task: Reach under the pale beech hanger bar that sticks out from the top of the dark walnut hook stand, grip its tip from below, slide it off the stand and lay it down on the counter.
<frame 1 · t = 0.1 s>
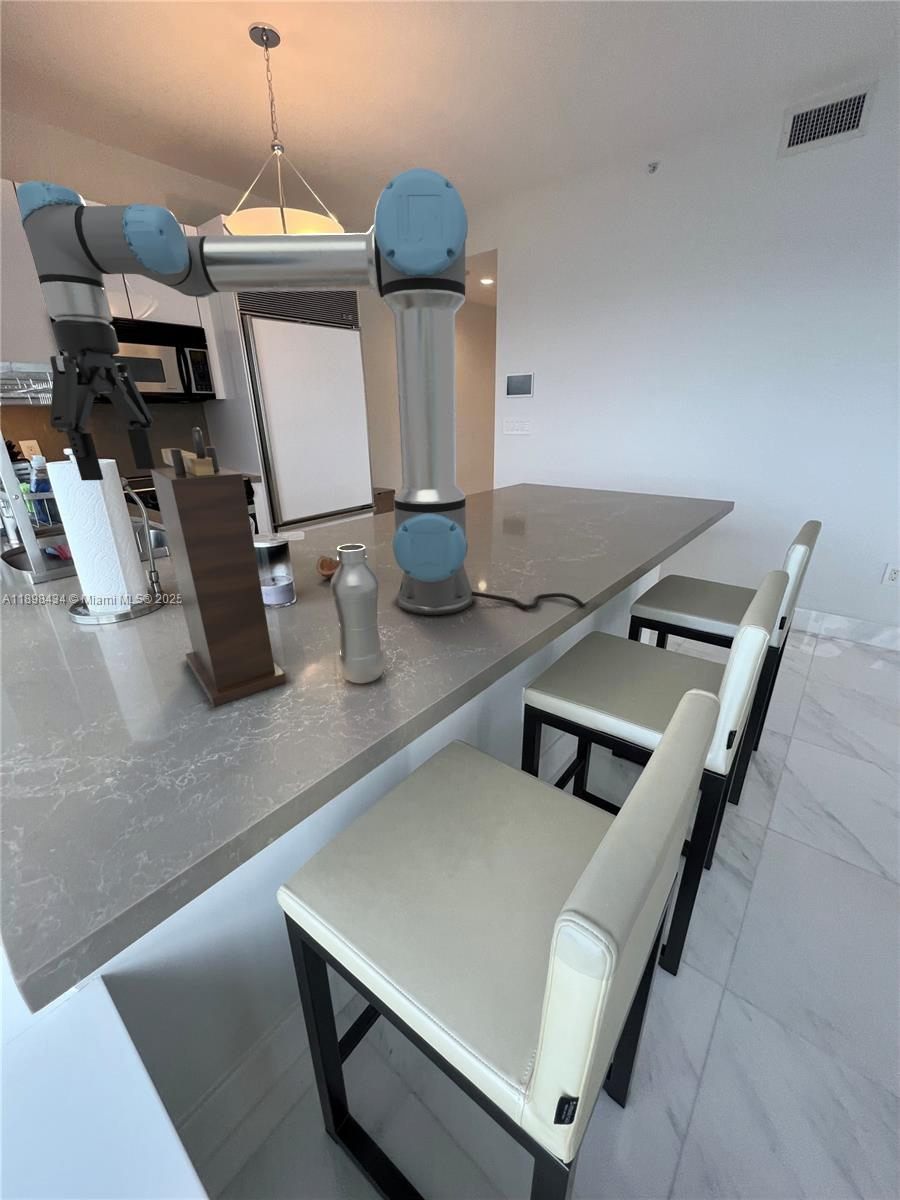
hand: (121, 474, 78), 28 cm above the table, tool pointing down, fingers open, 13 cm apart
fruit slice: (334, 579, 115), on the table
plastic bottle: (363, 678, 73), on the table
hook stand: (234, 672, 75), on the table
hanger bar: (186, 468, 67), point 30 cm above the table, touching hook stand
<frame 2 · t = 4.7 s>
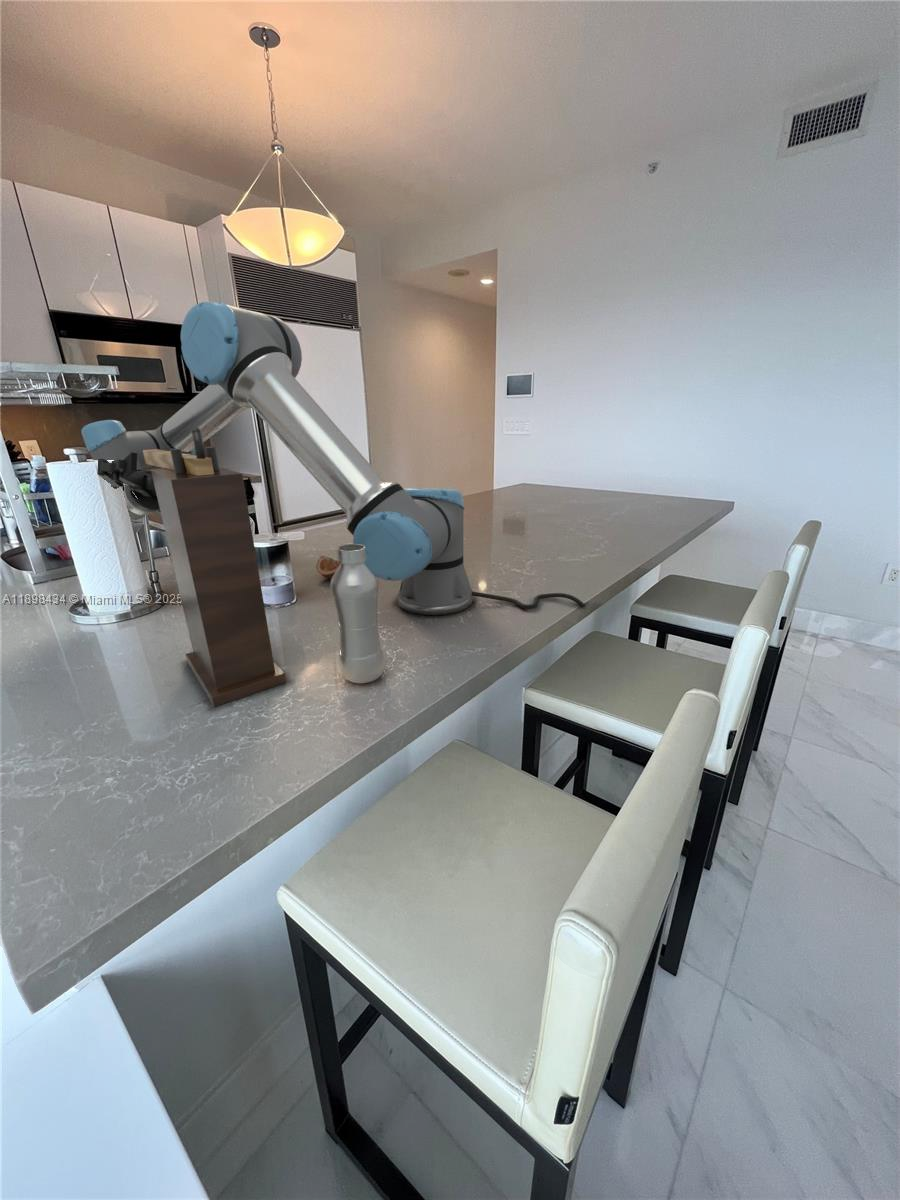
hand: (182, 471, 80), 28 cm above the table, tool pointing upward, fingers open, 13 cm apart
hanger bar: (176, 468, 66), point 30 cm above the table, touching hook stand
everything else where it was.
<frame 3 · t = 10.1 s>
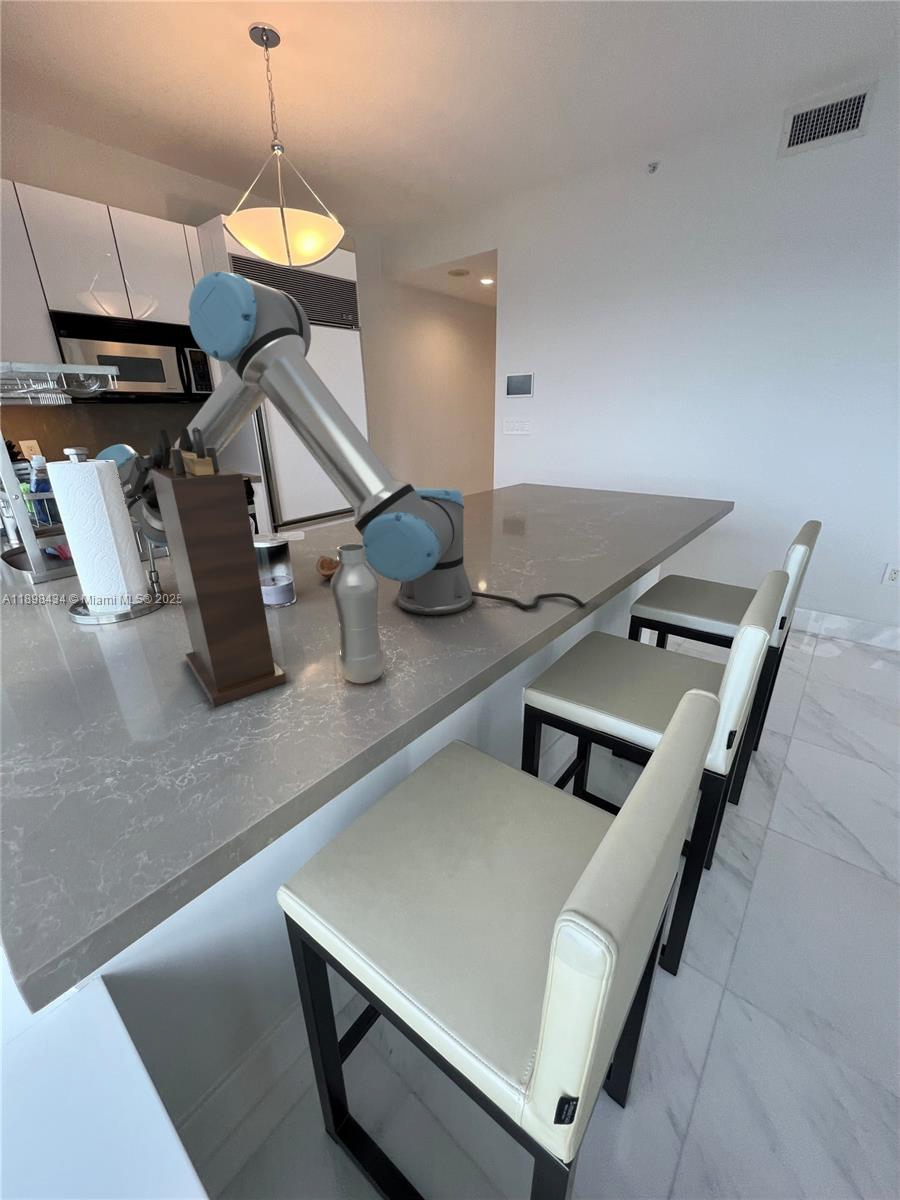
hand: (176, 438, 68), 34 cm above the table, tool pointing upward, fingers closed on hanger bar, 2 cm apart
hanger bar: (186, 468, 67), point 30 cm above the table, touching gripper
everything else where it was.
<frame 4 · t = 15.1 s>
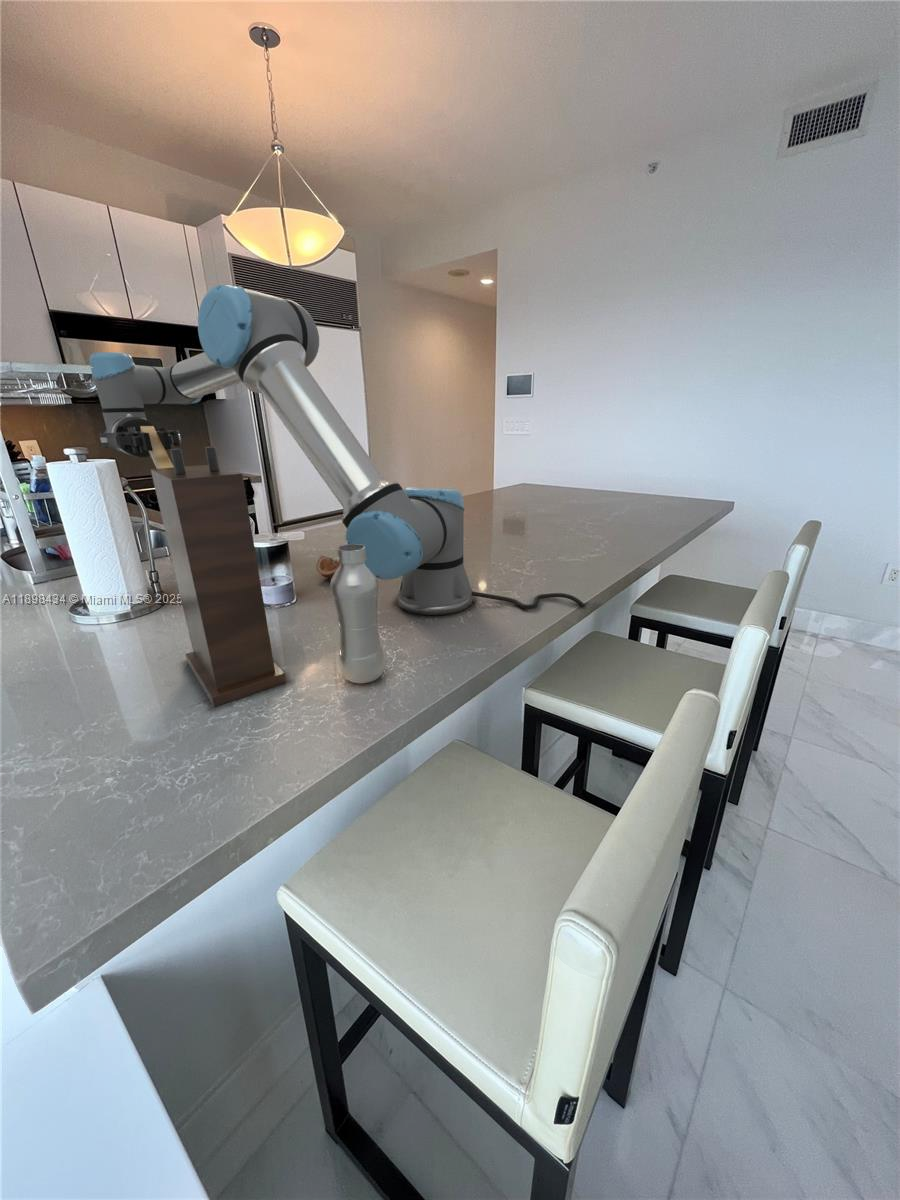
hand: (157, 441, 79), 33 cm above the table, tool horizontal, fingers closed on hanger bar, 2 cm apart
hanger bar: (165, 471, 80), point 28 cm above the table, tilted 29°, touching gripper
everything else where it was.
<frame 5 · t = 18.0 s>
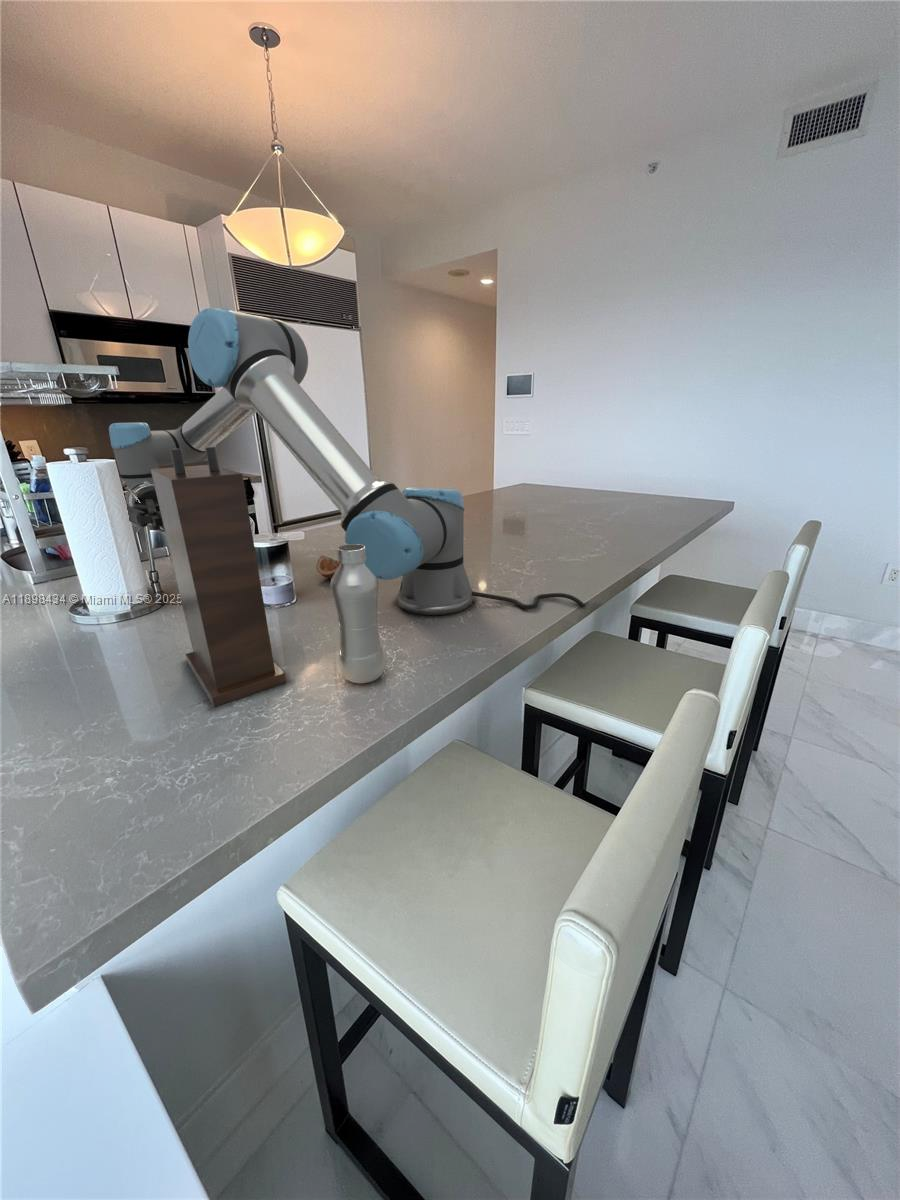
hand: (176, 523, 84), 19 cm above the table, tool horizontal, fingers closed on hanger bar, 2 cm apart
hanger bar: (182, 550, 85), point 15 cm above the table, tilted 30°, touching gripper
everything else where it was.
when the fingers open (10 cm above the table, at t = 20.3 s): hanger bar drops 5 cm, on the table.
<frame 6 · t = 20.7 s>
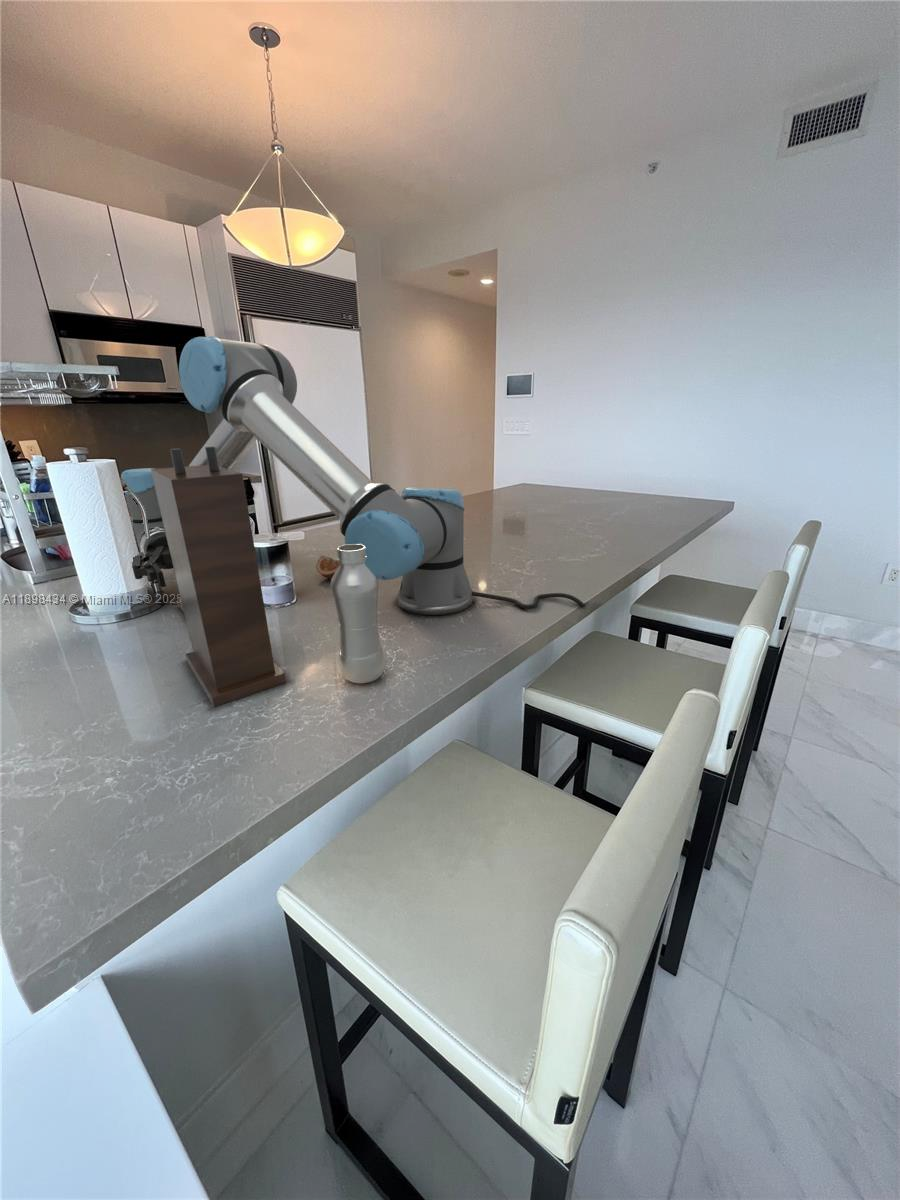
hand: (187, 574, 88), 10 cm above the table, tool horizontal, fingers open, 7 cm apart
hanger bar: (198, 623, 92), on the table
everything else where it was.
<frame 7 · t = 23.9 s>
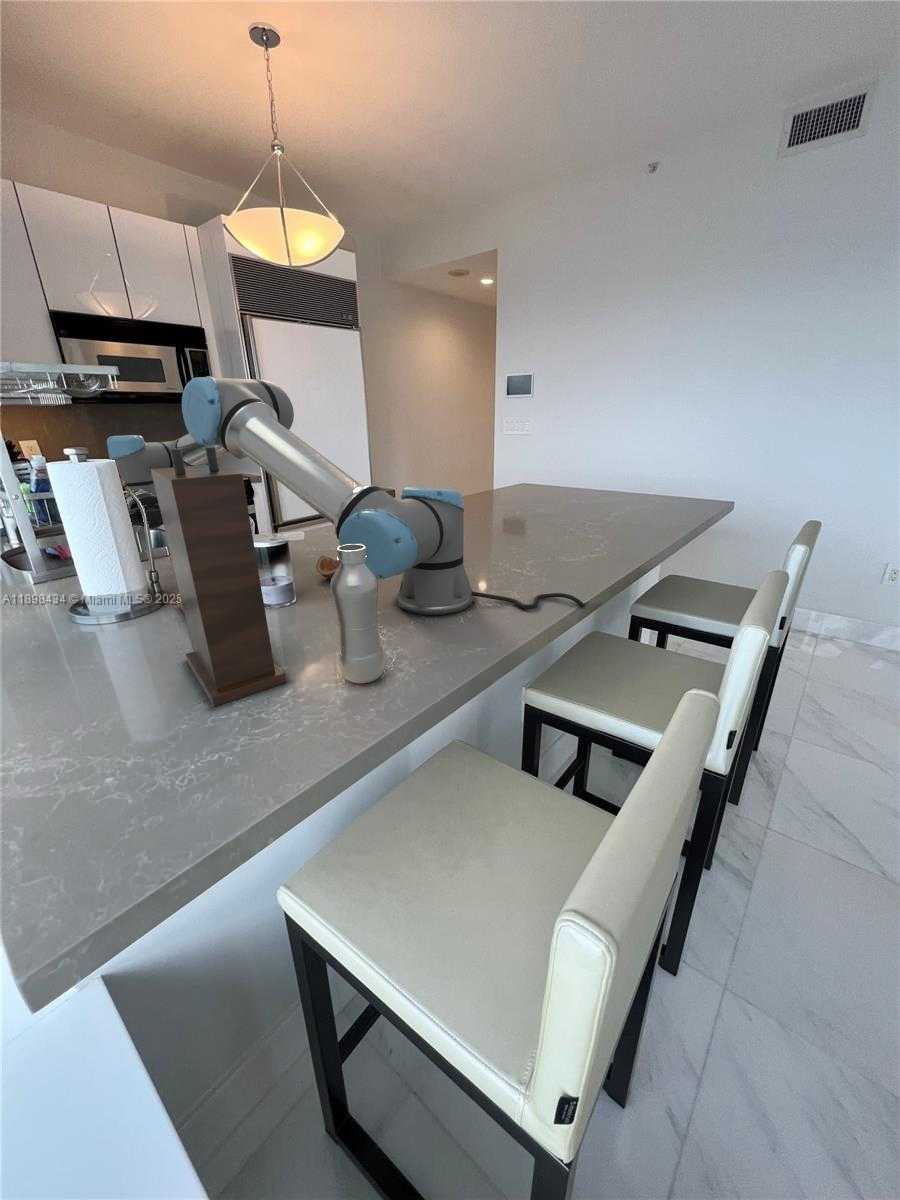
hand: (164, 525, 96), 16 cm above the table, tool horizontal, fingers open, 13 cm apart
nothing on the table moved.
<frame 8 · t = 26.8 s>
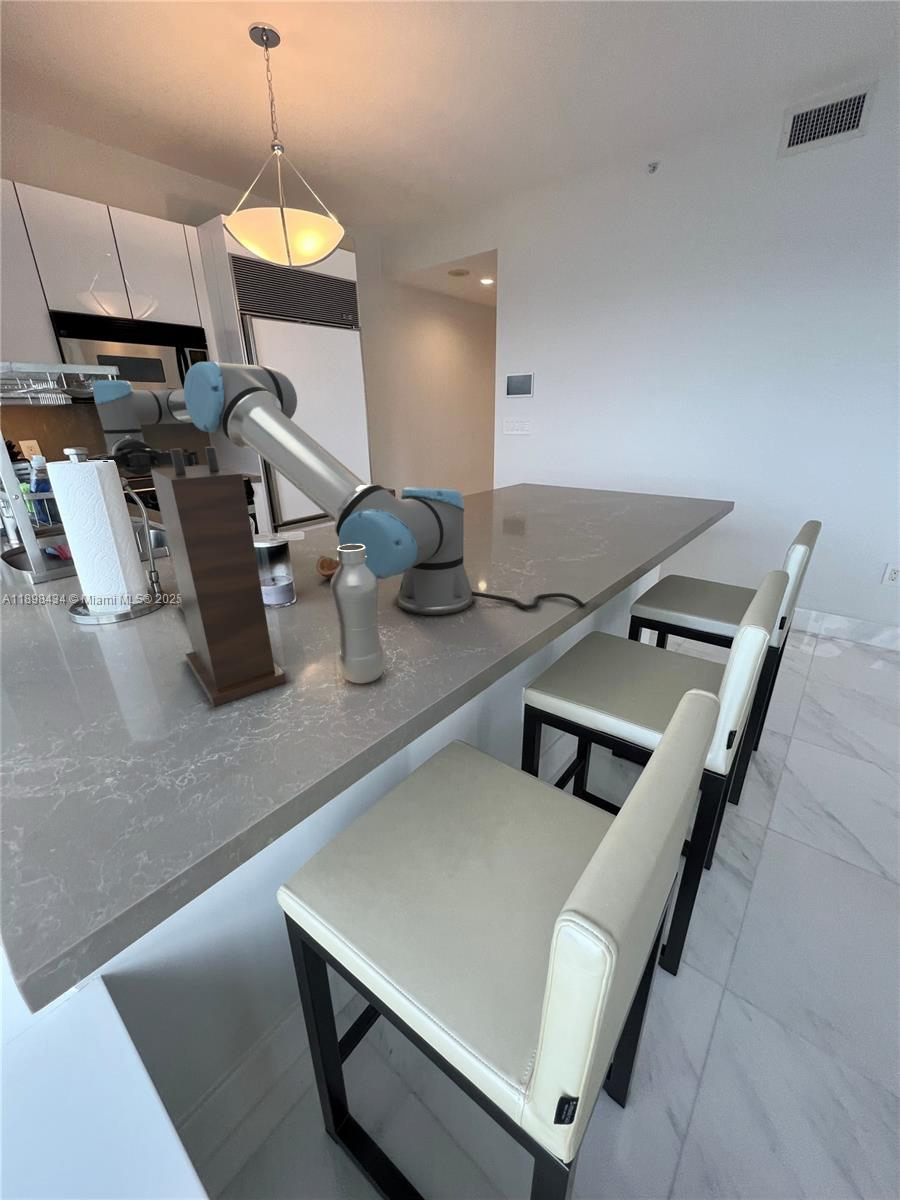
hand: (150, 464, 91), 28 cm above the table, tool horizontal, fingers open, 13 cm apart
nothing on the table moved.
at the end: hanger bar on the table; hanger bar moved 35.5 cm from its start; the gripper is holding nothing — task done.
